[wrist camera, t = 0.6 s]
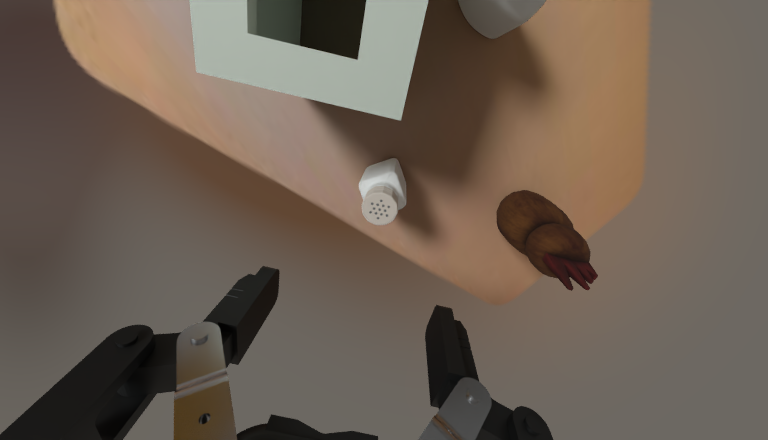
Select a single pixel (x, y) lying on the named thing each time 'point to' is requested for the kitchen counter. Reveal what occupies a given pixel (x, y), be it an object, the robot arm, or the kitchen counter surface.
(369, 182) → the salt shaker
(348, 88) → the tissue box
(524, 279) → the kitchen counter surface
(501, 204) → the wooden figurine
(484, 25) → the eye dropper bottle
